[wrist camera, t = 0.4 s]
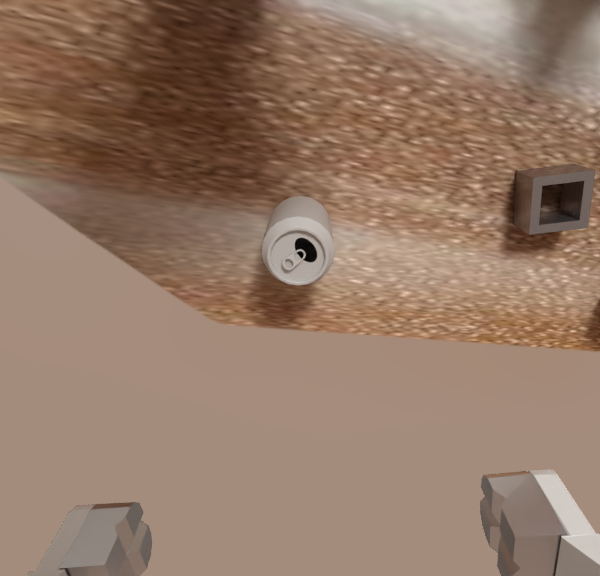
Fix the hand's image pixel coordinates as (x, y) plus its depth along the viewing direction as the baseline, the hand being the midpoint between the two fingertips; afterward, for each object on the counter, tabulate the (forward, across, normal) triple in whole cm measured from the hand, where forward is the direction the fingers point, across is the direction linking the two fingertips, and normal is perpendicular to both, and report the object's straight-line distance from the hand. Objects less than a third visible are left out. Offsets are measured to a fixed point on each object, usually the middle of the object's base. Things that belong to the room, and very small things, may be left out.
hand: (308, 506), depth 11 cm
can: (+46, +2, +6) cm, 47 cm away
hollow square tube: (+46, -27, +6) cm, 54 cm away
